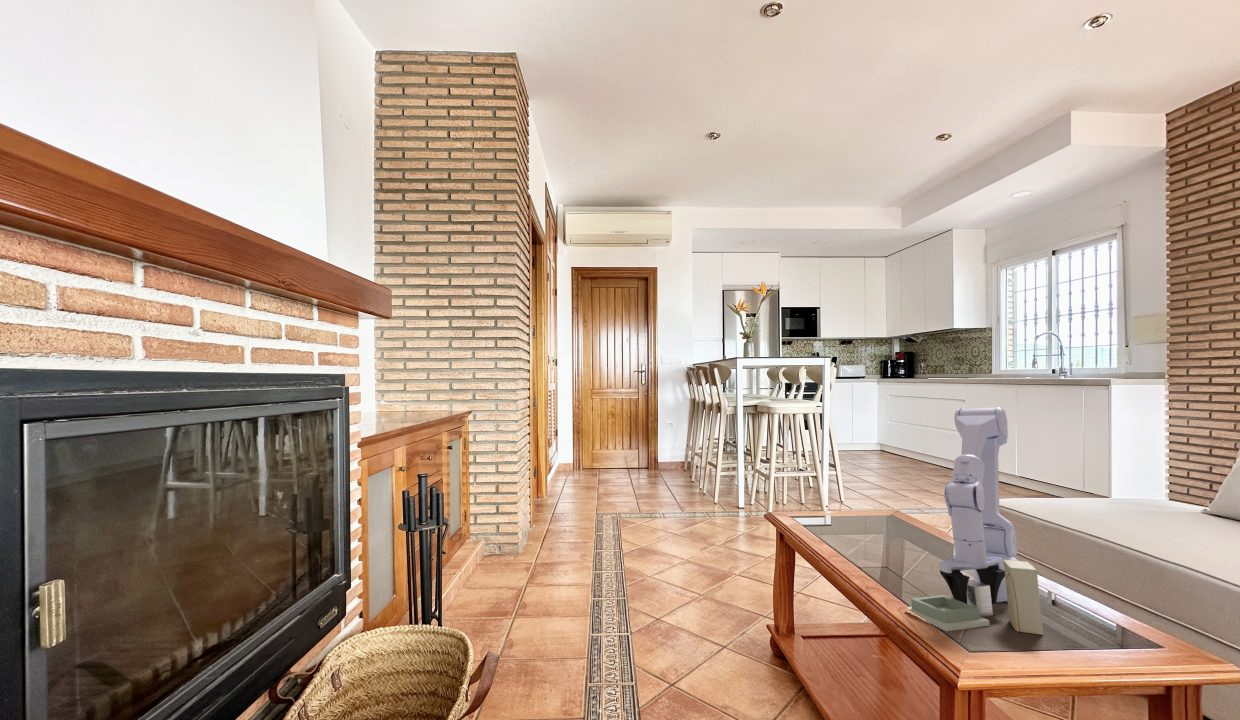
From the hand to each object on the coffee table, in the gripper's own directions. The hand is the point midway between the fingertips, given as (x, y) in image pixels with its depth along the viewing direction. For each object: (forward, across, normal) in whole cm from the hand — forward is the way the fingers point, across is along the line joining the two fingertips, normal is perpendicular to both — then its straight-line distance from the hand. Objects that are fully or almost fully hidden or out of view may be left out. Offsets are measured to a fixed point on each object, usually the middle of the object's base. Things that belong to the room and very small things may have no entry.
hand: (975, 604), depth 107 cm
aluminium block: (+2, 0, 0) cm, 2 cm away
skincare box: (+2, -2, +9) cm, 9 cm away
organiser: (+2, +9, +1) cm, 9 cm away
